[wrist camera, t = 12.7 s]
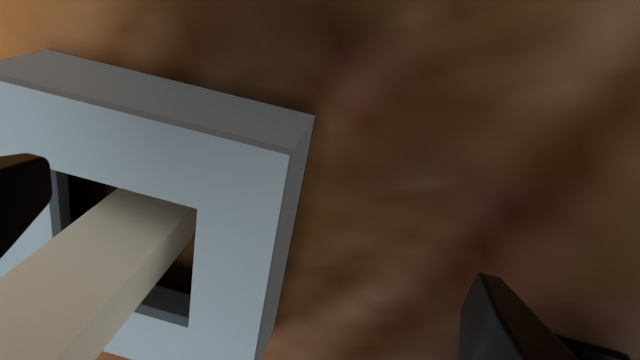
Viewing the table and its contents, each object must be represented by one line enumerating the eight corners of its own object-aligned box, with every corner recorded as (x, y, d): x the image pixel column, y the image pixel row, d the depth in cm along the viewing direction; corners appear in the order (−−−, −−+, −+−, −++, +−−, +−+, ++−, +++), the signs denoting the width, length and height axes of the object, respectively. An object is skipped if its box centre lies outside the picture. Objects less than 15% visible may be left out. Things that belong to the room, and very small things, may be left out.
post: (207, 191, 25) (39, 377, 14) (191, 238, 26) (31, 439, 15) (148, 164, 25) (-68, 329, 14) (137, 214, 26) (-64, 397, 15)
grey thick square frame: (315, 115, 22) (289, 155, 17) (274, 326, 28) (247, 394, 24) (46, 49, 23) (-42, 70, 18) (66, 266, 29) (4, 320, 25)
